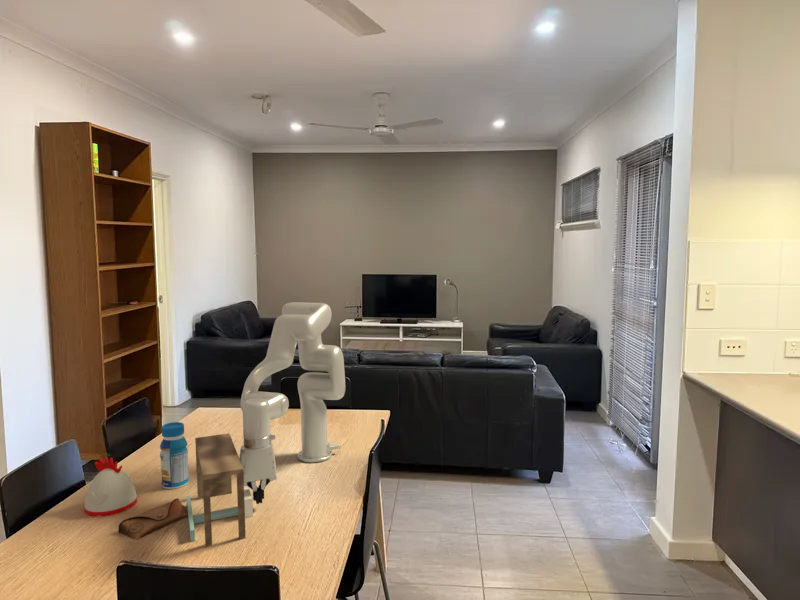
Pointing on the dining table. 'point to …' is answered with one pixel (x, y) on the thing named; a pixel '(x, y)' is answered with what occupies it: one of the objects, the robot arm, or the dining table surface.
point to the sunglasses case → (153, 519)
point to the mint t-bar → (219, 512)
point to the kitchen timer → (109, 491)
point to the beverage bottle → (174, 456)
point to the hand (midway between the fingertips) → (258, 501)
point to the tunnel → (218, 477)
